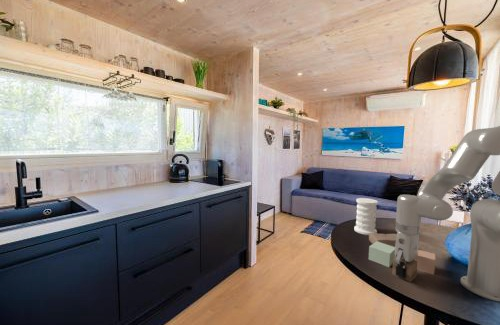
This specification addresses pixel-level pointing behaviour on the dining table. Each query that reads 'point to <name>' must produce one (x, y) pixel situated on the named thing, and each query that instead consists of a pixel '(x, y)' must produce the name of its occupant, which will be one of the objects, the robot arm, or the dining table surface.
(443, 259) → the dining table surface
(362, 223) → the decorative container
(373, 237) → the brick
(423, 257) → the terracotta cube
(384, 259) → the base block
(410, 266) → the walnut cube
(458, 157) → the robot arm
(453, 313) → the dining table surface
